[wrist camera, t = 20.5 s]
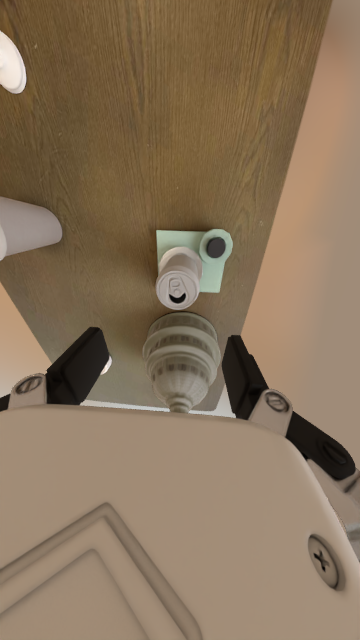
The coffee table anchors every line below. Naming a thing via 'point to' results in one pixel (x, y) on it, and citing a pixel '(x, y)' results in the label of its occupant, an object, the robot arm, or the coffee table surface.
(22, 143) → the coffee table surface
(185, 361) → the dome
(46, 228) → the coffee cup
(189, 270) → the beverage can
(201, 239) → the scale
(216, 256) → the button
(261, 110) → the coffee table surface
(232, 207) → the coffee table surface
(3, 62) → the chess piece
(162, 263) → the plate
